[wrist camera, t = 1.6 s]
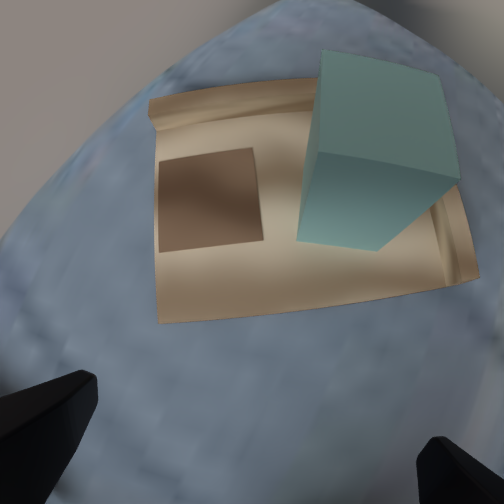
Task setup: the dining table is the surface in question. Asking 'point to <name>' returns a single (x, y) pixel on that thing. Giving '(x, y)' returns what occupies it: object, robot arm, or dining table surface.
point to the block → (373, 152)
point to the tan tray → (271, 214)
